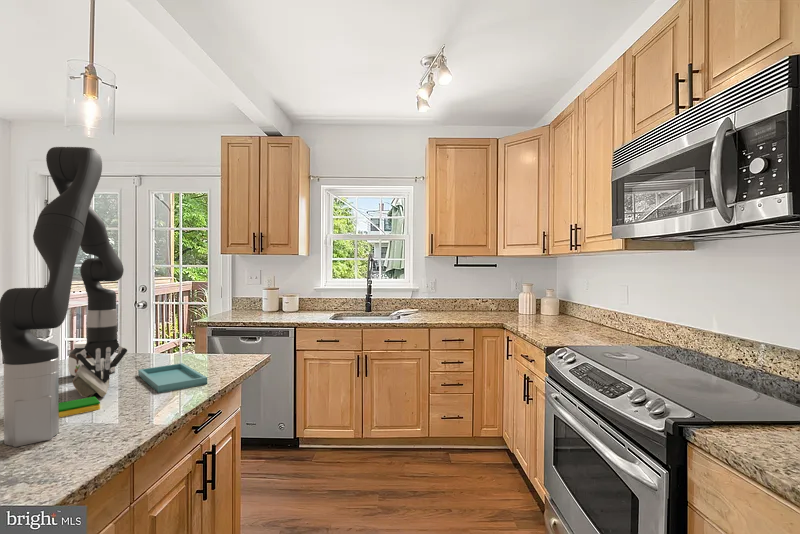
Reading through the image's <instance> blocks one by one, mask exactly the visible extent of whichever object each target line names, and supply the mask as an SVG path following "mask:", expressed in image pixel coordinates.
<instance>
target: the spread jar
mask: <svg viewBox="0 0 800 534" xmlns="http://www.w3.org/2000/svg"><path fill="white" fill-rule="evenodd" d="M86 343H87V340H81V341H76V342H74V343H73V349H72V350H71V351H70V352H69V354H68V364H67V365H68V373H69V375H70V376H71V377H72V378H73V379H74V377H75V375H76V373H77V371H78V369H79V367H80V365H81V363H82V362H81V361H80V360H79V359H78V358H77V357H76V353H79V352H81V351H82V350H84V348H85V346H86ZM86 355H87V356H86V358H85V359H88V360H89V361H90V362H91V363H93V364H94V358H92V357H91V356H90V355H89V354H88V353H87V352H86ZM112 361H113V359H112V358H111V357H110V363H111V362H112ZM100 365H101V369H100V370H101V371H102V372H103V369H104V358H101V363H100ZM115 372H116V366H115V367H112V368H110V370H109V374H112V373H115Z"/></svg>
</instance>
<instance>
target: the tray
mask: <svg viewBox="0 0 800 534" xmlns="http://www.w3.org/2000/svg"><path fill="white" fill-rule="evenodd" d="M137 371H138V373H137V374H138V375H137V376H138V377H139V376H140V377H141V380H143V381H144V382H145V383H146V384H147V385H148V386H150V387H151V388H152V389H153V390H154V391H156V393H158V394H161V393H166V392H172V391H177V390H182V389H188V388H192V387H193V388H194V387H199V386H205V385H208V376H206V375H204V374H203V373H200V372H199V371H197V370H195V369H193V368H192V367H191V366H189V365H187V364H185V363H182V362H181V363H175V364H168V365H166V364H165V365H160V366H153V367H148V368H146V367H145V368H140V369H139V368H138V370H137ZM140 377H139V378H140Z"/></svg>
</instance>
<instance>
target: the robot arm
mask: <svg viewBox="0 0 800 534" xmlns="http://www.w3.org/2000/svg"><path fill="white" fill-rule="evenodd" d="M45 161H46V167H47V170H48V173H49V175H50V178H51V180H52V182H53V183H54V186H55V188H56V190H57V191H58V194H59V195H58V196H56V198H54V199H53V200H51V202H49V203H48V204H46V206H45V207H44V208H43V209H42V210H41V212H40V213H39V215H38V217H37V220H36V224H35V227H34V230H33V235H32V239H33V244H34V246H35V247H36V249H37V251H38V253H39V254H40V256H41V258H42V259H43V261H44V262H45V264H46V266H47V268H48V272H49V276H48V282H47V285H46V286H45V287H14V288H9V289H7V290H6V291H4V293H3V294H2V296H0V297H1V298H0V350H1V353H2V358H3V443H4V444H5V445H7V446H13V448H17V447H22V446H26V445H31V444H35V443H39V442H44V441H45V442H46V441H51V440H52V439H53V437H55V436H56V435H58V434H59V432H60V426H59V425H60V417H59V403H60V400H59V397H60V396H59V395H60V394H59V390H60V389H59V388H60V386H59V383H60V380H59V376H60V375H59V372H60V371H59V367H60V364H59V363H60V361H59V360H60V359H59V356H60V354H59V351H60V349H59V346H58V345H57V344H55V343H53V342H49V341H45V340H43V339H40V338H38V337H36V336H34V335H33V334H32V332H31V330H48V329H51V330H52V329H57V328H59V327H61V326H62V325H63V323H64V321H65V320H66V317H67V313H68V309H69V305H70V304H69V302H70V297H71V289H72V283H73V278H74V277H73V276H74V271H75V265H76V262H77V257H78V254H79V251H80V248H81V251H82V252H83V253H85V254H88V255H91V256H94V257H89V258H86V259H85V260H84V261H83V262H82V263H81V265H80V268H79V270H80V271H79V272H80V277H81V279H82V282H83V284H84V288H85V293H86V295H87V314H86V322H85V325H86V341H87V343H86V346H85V348H84V350H82V351H81V352H79V353H76V357H77V358H78V359H79V360H80V361H81V362H82V363H83V364H84V365H85V366H86V367H87V368H88V369H89V370H94V371H95V375H96V376H97V377H98V378H99V379H100V380H101V370H100V369H101V365H100V363H101V358H104V369H103V381H104V383H105V382H107V380H109V378H110V372H109V370H110V368H112V367H115V368H116V367H117V366H118V365H119V363H120V362H121V361H122V360H123V358H124V356H125V355H126V354H127V353H128V349H127V348H126V347H123V346H120V343H119V340H118V313H117V293H116V291H115V290H113V289H108V288H106V287H105V288H104V287H103V286H102V284H101V282H103V283H104V282H106V283H107V282H108V283H109V282H118V281H120V279H121V278H122V277H123V276H124V265H123V262H122V260H121V259H120V257H119V255H118V254H117V253H116V251H115V250H114V247H113V246H112V244H111V242H110V239H109V235H108V232H107V231H108V230H107V227H106V224H105V223H104V221H103V219H102V218H101V217H100V214H98V213H97V212H96V211H95V210H94V209H93V208H92V207H91V203H92V200H93V197H94V195H95V193H96V190H97V188H98V185H99V182H100V179H101V177H102V173H103V161H102V158H101V154H100V153H99V152H98V151H97V150H95V149H94V148H90V147H85V146H53V147H51V148H49V149H48V150H47V152H46V157H45ZM86 352H87V353H88V354H89V355H90V356H91V357H92V358H94V365H91V364H90V363H89V362H88V361H87V360H86V359H85V358H86V356H87V355H86ZM115 352H116V353H117V354H116V356H115V357H114V358H113V359H112V362H111V363H110V358H111V357H112V356H113V355H114V354H115ZM109 381H110V380H109Z"/></svg>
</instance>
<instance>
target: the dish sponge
mask: <svg viewBox="0 0 800 534" xmlns="http://www.w3.org/2000/svg"><path fill="white" fill-rule="evenodd" d="M98 409H99V410H100V409H101V401H99V399H98V398H97V397H96V396H91V397H89V398H86V397H83V398H79V399H72V400H68V401H67V400H66V401H61V402H59V418H63V417H68V416H73V415H78V414H83V413H87V412H88V413H89V412H93V411H94V412H95V411H98Z"/></svg>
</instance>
